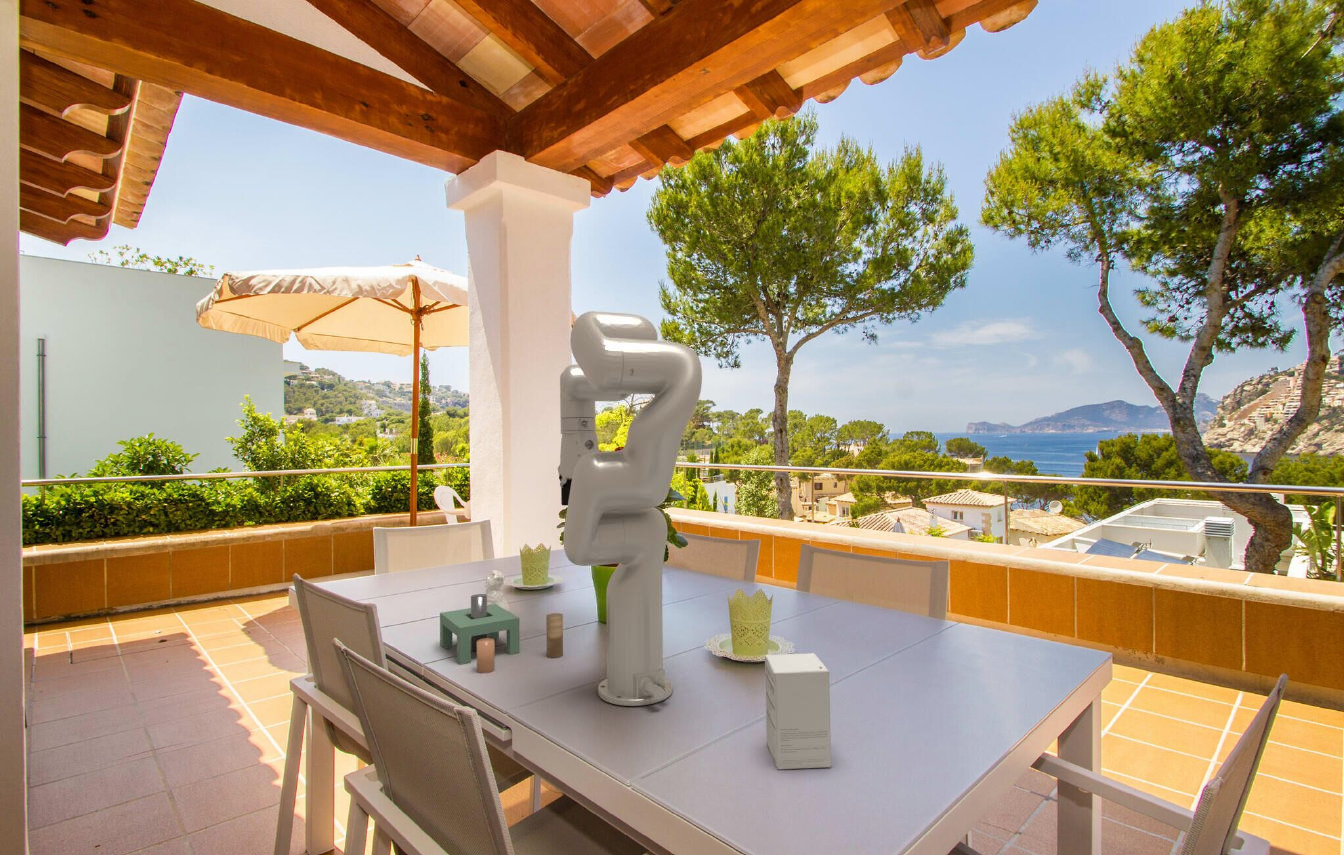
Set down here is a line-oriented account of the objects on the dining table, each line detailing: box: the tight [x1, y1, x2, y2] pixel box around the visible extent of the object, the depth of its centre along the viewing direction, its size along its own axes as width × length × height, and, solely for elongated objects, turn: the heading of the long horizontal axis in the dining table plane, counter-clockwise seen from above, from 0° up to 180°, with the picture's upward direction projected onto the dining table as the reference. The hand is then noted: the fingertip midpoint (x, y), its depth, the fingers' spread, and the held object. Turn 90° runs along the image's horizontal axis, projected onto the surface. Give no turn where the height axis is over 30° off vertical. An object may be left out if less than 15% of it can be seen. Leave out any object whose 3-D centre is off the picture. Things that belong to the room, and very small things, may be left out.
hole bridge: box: [439, 604, 521, 666], centre depth 135 cm, size 14×12×7 cm
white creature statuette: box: [484, 569, 511, 613], centre depth 158 cm, size 10×9×12 cm
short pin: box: [476, 638, 496, 674], centre depth 123 cm, size 3×3×6 cm
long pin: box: [470, 593, 487, 653], centre depth 135 cm, size 3×3×11 cm
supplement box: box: [764, 652, 832, 770], centre depth 88 cm, size 7×7×13 cm
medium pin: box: [545, 612, 564, 659], centre depth 131 cm, size 3×3×8 cm
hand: (579, 506), depth 141 cm, fingers open, 9 cm apart
